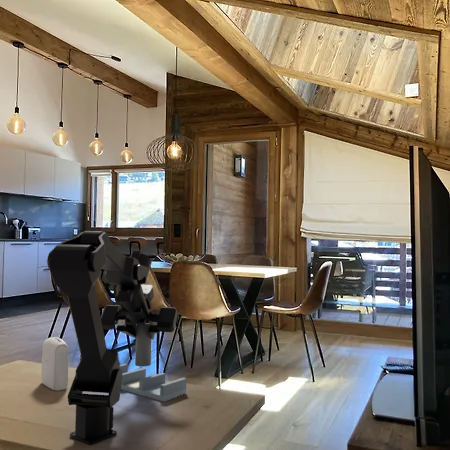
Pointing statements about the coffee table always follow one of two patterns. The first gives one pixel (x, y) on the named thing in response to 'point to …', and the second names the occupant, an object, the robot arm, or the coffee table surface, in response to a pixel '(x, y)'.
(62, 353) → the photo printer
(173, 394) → the grey divided tray
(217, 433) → the coffee table surface
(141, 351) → the grey cylinder
